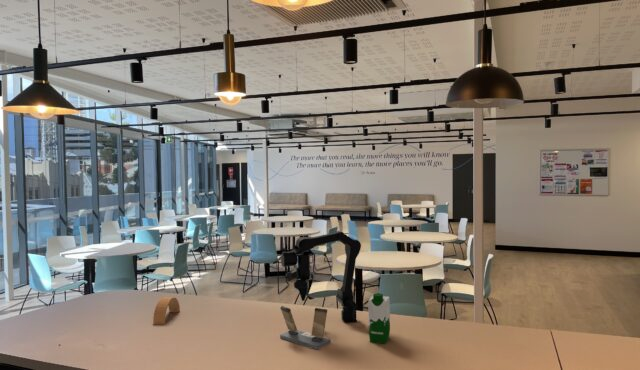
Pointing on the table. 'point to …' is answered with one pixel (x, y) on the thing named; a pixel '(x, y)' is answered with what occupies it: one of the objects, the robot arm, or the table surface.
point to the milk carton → (379, 318)
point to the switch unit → (305, 339)
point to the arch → (165, 309)
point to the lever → (288, 318)
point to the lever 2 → (319, 322)
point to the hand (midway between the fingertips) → (305, 297)
